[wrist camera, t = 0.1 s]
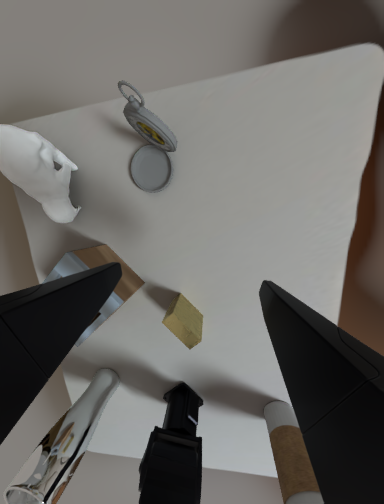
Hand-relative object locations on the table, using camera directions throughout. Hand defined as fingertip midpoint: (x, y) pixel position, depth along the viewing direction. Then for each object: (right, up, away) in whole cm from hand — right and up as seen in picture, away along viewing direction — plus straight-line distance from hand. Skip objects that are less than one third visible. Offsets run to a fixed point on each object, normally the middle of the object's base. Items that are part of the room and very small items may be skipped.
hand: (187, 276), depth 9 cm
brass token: (-1, -9, +18) cm, 20 cm away
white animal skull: (-21, +13, +16) cm, 30 cm away
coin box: (-16, -4, +19) cm, 25 cm away
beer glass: (-19, -28, +24) cm, 41 cm away
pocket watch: (-5, +15, +14) cm, 21 cm away
